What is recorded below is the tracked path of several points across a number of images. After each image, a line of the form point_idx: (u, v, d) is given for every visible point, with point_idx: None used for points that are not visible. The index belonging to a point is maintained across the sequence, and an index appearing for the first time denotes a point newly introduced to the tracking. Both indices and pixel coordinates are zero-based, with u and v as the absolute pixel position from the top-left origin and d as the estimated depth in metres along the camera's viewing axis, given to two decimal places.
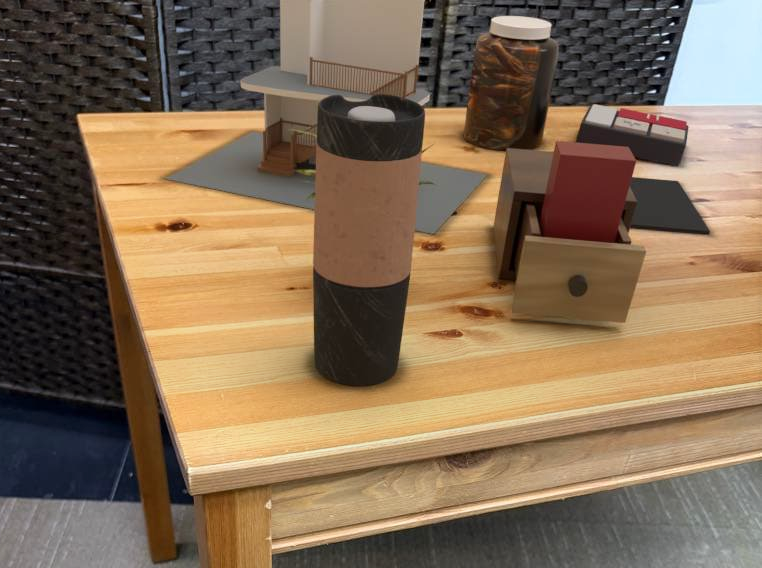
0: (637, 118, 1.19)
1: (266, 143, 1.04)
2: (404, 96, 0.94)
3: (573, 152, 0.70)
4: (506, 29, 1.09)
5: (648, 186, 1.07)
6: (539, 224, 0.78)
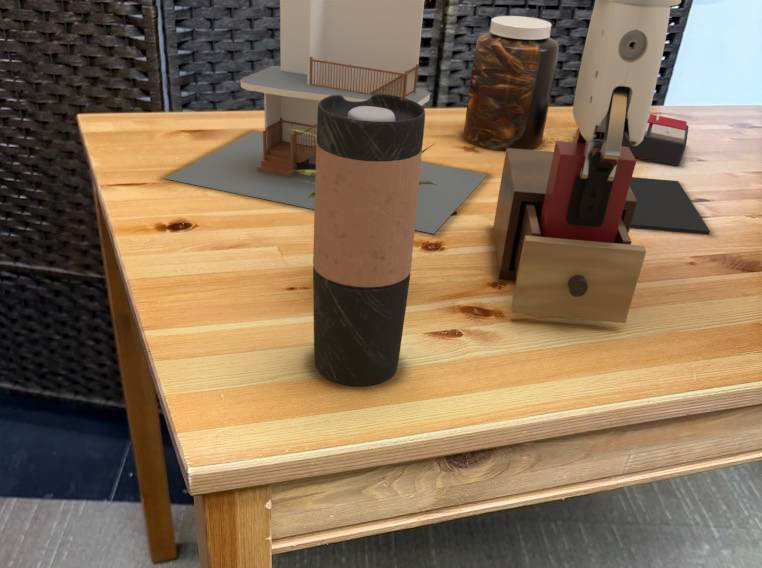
0: None
1: (266, 143, 1.04)
2: (404, 96, 0.94)
3: (573, 152, 0.70)
4: (506, 29, 1.09)
5: (648, 186, 1.07)
6: (539, 224, 0.78)
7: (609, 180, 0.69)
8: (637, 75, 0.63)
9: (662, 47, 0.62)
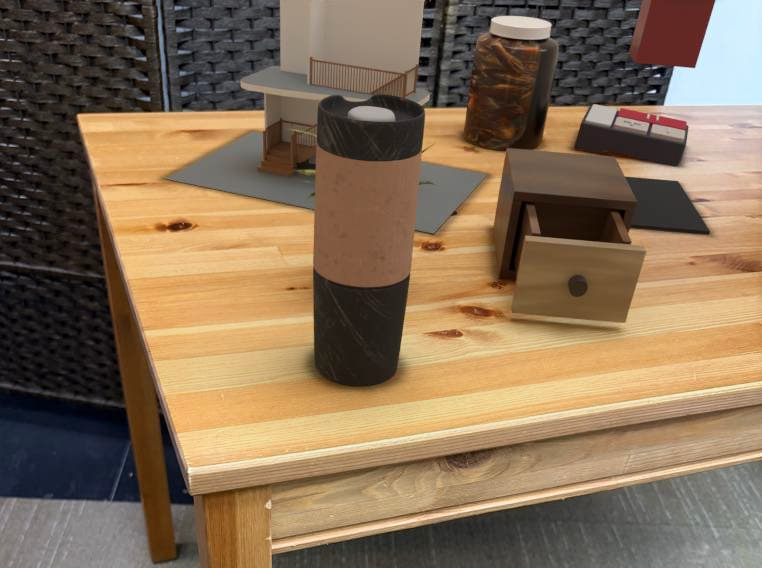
0: (637, 118, 1.19)
1: (266, 143, 1.04)
2: (404, 96, 0.94)
3: None
4: (506, 29, 1.09)
5: (648, 186, 1.07)
6: (641, 7, 0.88)
7: None
8: None
9: None
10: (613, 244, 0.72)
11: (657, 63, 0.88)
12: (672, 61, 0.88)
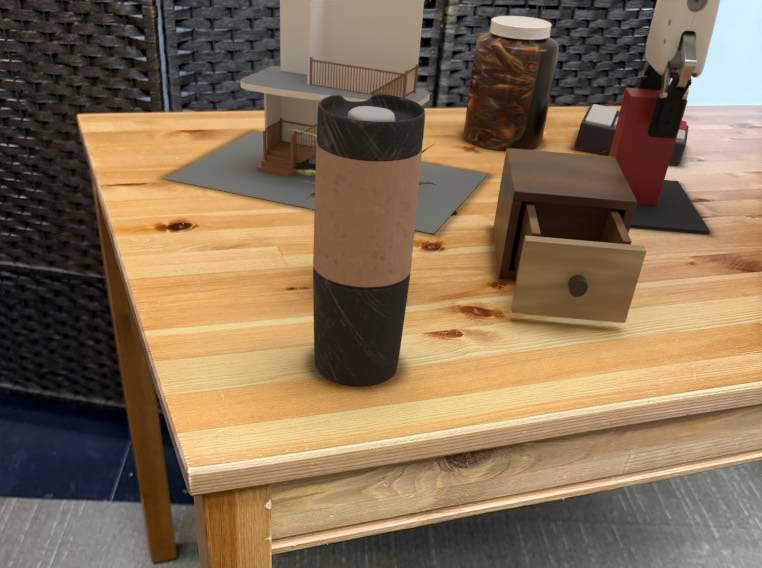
0: None
1: (266, 143, 1.04)
2: (404, 96, 0.94)
3: (640, 95, 0.94)
4: (506, 29, 1.09)
5: None
6: (609, 154, 1.02)
7: (684, 96, 0.90)
8: (700, 22, 0.86)
9: (719, 1, 0.85)
10: (613, 244, 0.72)
11: None
12: None
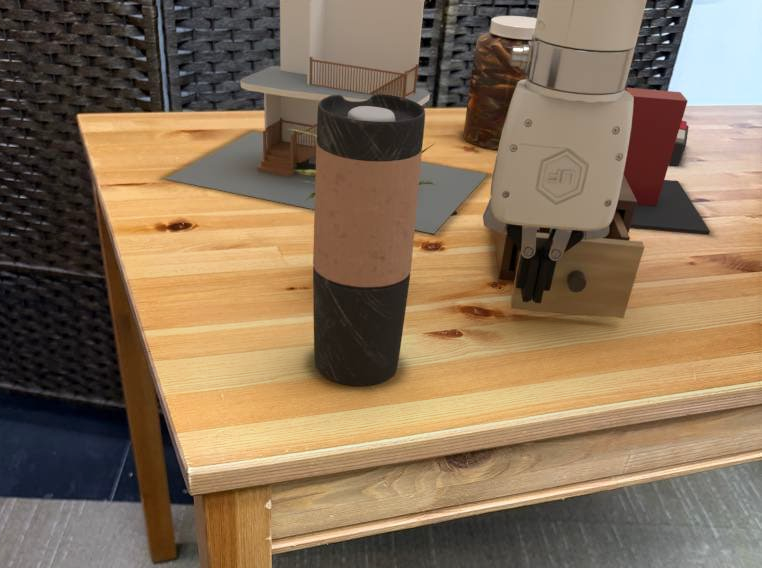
0: None
1: (266, 143, 1.04)
2: (404, 96, 0.94)
3: (640, 95, 0.94)
4: (506, 29, 1.09)
5: None
6: None
7: None
8: (500, 147, 0.65)
9: (512, 127, 0.63)
10: (611, 240, 0.72)
11: None
12: None
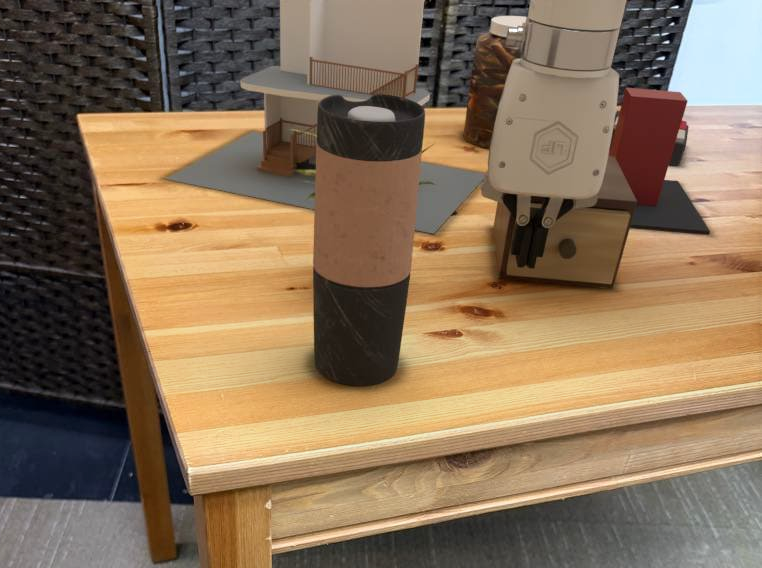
0: None
1: (266, 143, 1.04)
2: (404, 96, 0.94)
3: (640, 95, 0.94)
4: (506, 29, 1.09)
5: None
6: (609, 154, 1.02)
7: None
8: (496, 121, 0.71)
9: (508, 102, 0.68)
10: (600, 210, 0.78)
11: None
12: None
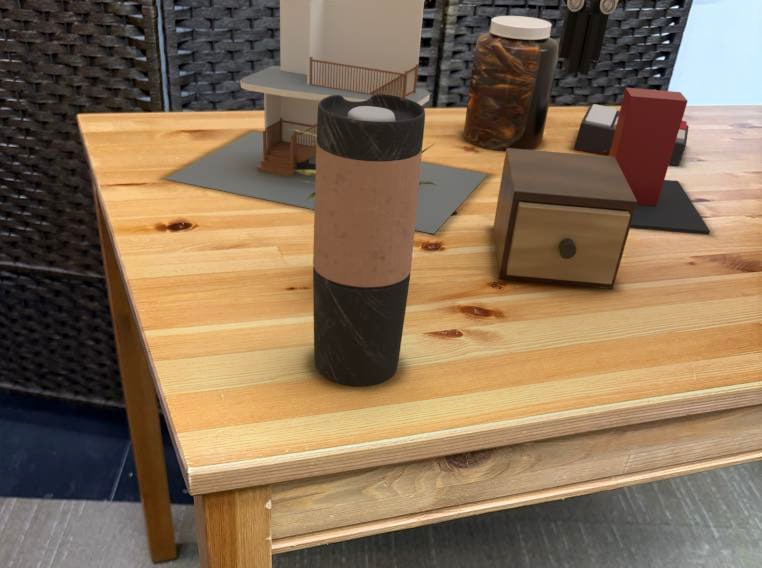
0: None
1: (266, 143, 1.04)
2: (404, 96, 0.94)
3: (640, 95, 0.94)
4: (506, 29, 1.09)
5: None
6: (609, 154, 1.02)
7: (569, 8, 0.60)
8: None
9: None
10: (600, 210, 0.78)
11: None
12: None
